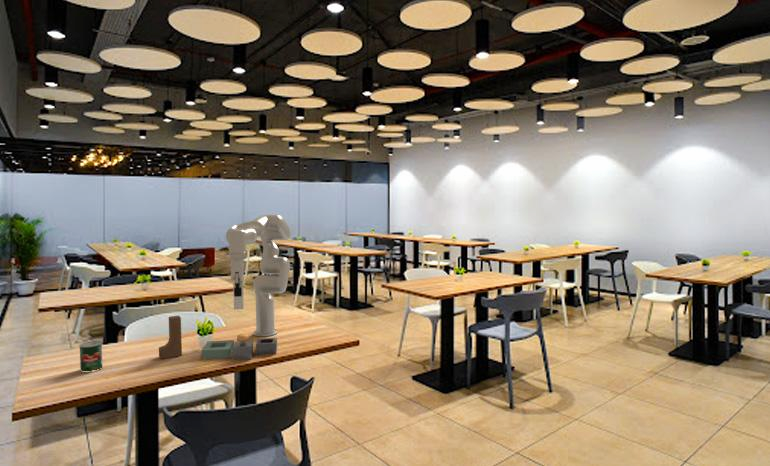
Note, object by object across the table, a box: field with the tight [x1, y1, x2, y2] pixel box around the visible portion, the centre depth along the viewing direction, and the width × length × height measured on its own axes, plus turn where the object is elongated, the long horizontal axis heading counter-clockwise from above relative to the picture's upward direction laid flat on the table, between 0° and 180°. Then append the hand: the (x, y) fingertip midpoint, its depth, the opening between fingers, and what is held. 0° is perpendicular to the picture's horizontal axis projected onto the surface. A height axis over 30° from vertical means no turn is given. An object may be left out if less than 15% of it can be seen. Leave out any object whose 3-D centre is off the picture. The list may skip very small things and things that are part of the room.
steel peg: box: [232, 281, 245, 310], centre depth 213 cm, size 4×4×12 cm
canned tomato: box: [79, 340, 103, 371], centre depth 193 cm, size 8×8×11 cm
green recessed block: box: [201, 339, 235, 360], centre depth 213 cm, size 14×12×4 cm
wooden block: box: [158, 315, 183, 360], centre depth 209 cm, size 9×4×18 cm, turn 125°
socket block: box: [255, 337, 278, 356], centre depth 216 cm, size 9×9×5 cm
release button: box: [236, 333, 250, 345], centre depth 208 cm, size 5×5×9 cm
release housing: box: [232, 340, 254, 361], centre depth 209 cm, size 8×8×6 cm
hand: (238, 294), depth 213 cm, fingers closed on steel peg, 4 cm apart
